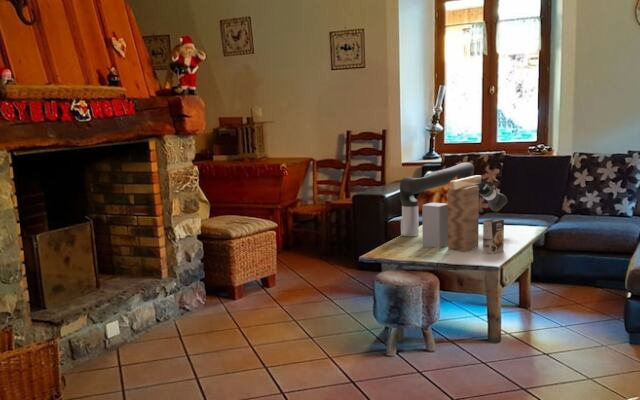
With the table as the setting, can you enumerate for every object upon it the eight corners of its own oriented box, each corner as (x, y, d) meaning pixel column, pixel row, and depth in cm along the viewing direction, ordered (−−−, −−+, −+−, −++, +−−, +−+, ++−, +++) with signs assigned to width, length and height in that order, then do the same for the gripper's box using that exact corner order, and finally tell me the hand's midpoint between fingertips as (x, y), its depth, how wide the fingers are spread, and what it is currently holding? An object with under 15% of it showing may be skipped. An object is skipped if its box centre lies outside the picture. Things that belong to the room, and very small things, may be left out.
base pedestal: (422, 246, 324) (422, 205, 321) (432, 242, 332) (431, 202, 329) (439, 248, 318) (439, 206, 315) (448, 244, 326) (448, 203, 322)
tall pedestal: (448, 249, 315) (447, 187, 310) (460, 244, 325) (460, 184, 320) (465, 252, 308) (465, 189, 304) (478, 246, 319) (478, 185, 314)
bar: (450, 189, 305) (450, 181, 304) (475, 182, 326) (475, 175, 325) (455, 189, 303) (455, 181, 302) (481, 183, 324) (481, 175, 323)
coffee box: (493, 254, 302) (493, 222, 300) (482, 252, 307) (482, 220, 305) (504, 251, 308) (504, 219, 305) (493, 249, 313) (493, 217, 310)
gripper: (476, 184, 339) (464, 172, 327) (501, 185, 330) (489, 173, 318) (473, 196, 337) (461, 185, 325) (497, 198, 328) (486, 186, 316)
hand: (475, 179), depth 322 cm, fingers open, 8 cm apart
